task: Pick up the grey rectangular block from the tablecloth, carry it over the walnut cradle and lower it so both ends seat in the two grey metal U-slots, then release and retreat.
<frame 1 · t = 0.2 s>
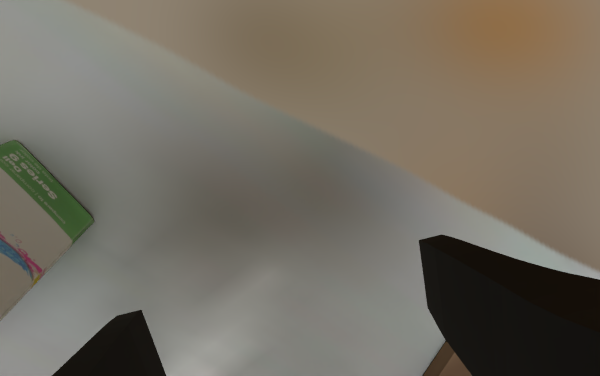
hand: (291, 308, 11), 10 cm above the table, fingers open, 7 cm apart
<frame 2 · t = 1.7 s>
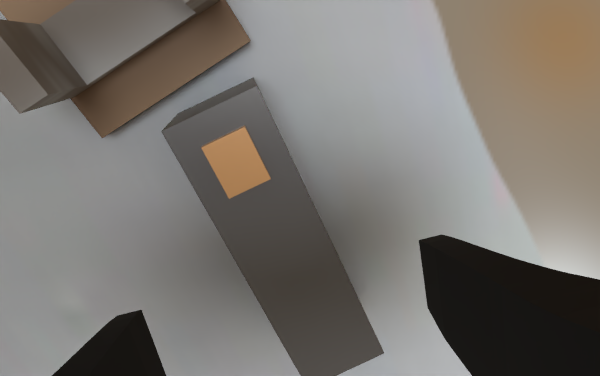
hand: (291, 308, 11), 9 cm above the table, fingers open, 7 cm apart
grey rectangular block: (276, 212, 21), on the table
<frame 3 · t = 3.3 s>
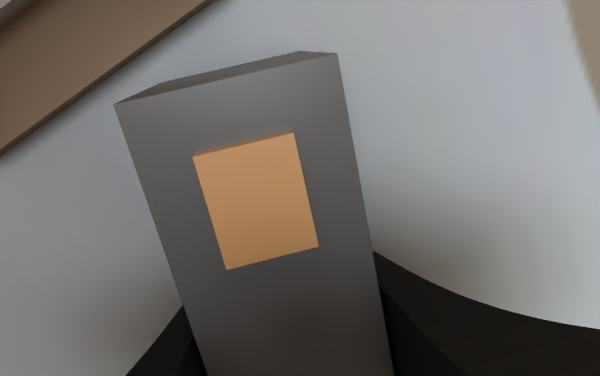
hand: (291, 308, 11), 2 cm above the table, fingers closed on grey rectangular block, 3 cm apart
grey rectangular block: (284, 274, 13), on the table, touching gripper
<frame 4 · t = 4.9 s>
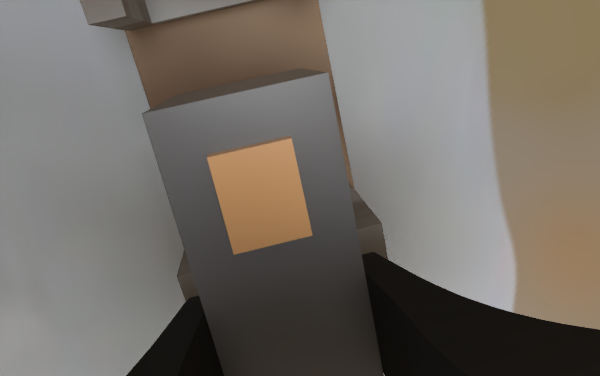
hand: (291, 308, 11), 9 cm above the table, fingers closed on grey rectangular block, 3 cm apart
grey rectangular block: (284, 269, 14), point 6 cm above the table, touching gripper
cradle: (247, 109, 18), on the table
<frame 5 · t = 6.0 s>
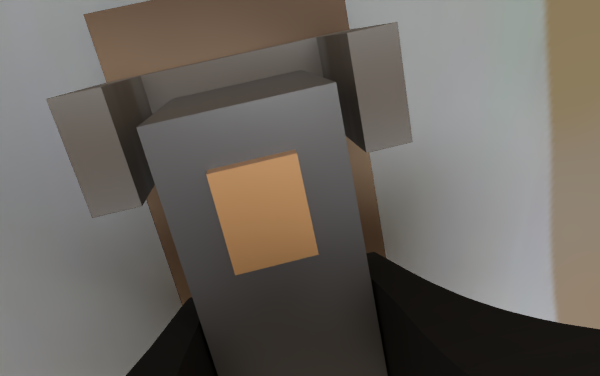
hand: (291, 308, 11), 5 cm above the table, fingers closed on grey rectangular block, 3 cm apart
grey rectangular block: (285, 277, 14), point 2 cm above the table, touching cradle, gripper
cradle: (275, 236, 16), on the table
when the fingers open (4 cm above the table, at t = 6.4 s): grey rectangular block stays where it is, resting on cradle.
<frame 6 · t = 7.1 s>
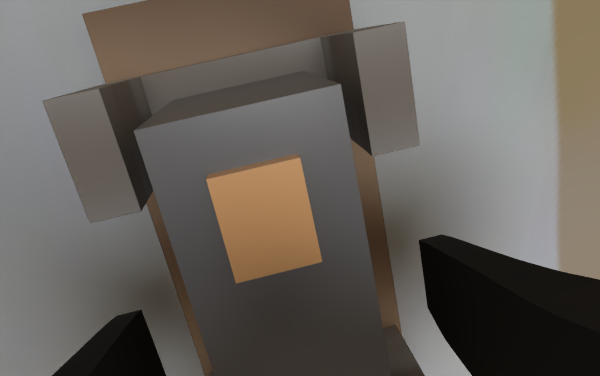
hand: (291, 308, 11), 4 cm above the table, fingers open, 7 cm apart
grey rectangular block: (287, 282, 14), point 2 cm above the table, touching cradle
cradle: (277, 240, 15), on the table
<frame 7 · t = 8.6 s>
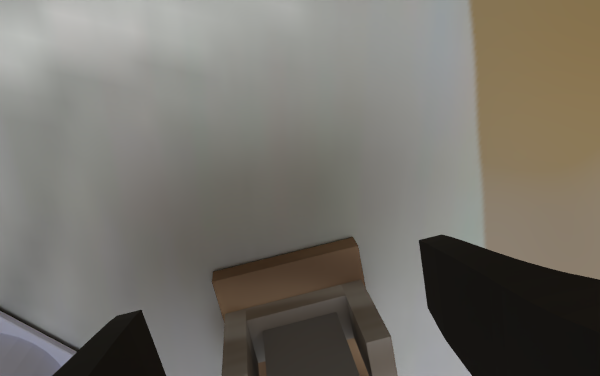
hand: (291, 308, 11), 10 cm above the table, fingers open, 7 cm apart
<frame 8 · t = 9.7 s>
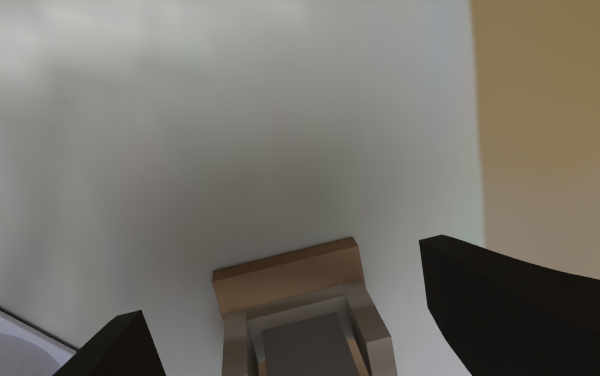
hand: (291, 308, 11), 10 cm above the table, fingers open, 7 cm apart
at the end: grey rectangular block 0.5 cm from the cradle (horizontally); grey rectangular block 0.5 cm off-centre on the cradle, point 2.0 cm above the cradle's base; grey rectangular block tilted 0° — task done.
